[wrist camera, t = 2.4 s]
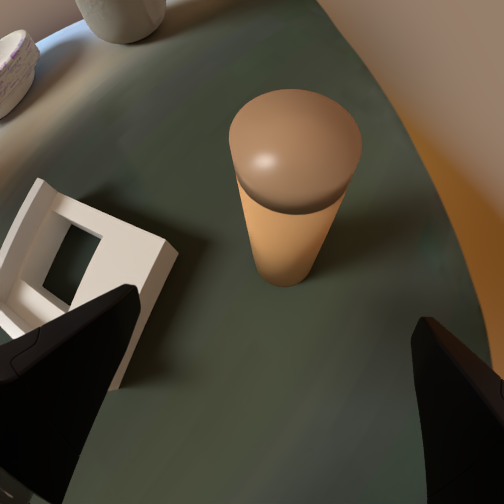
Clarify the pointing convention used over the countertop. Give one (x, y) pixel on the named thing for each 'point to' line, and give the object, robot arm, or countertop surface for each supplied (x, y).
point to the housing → (97, 274)
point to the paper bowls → (16, 68)
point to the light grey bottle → (122, 18)
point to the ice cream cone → (292, 176)
